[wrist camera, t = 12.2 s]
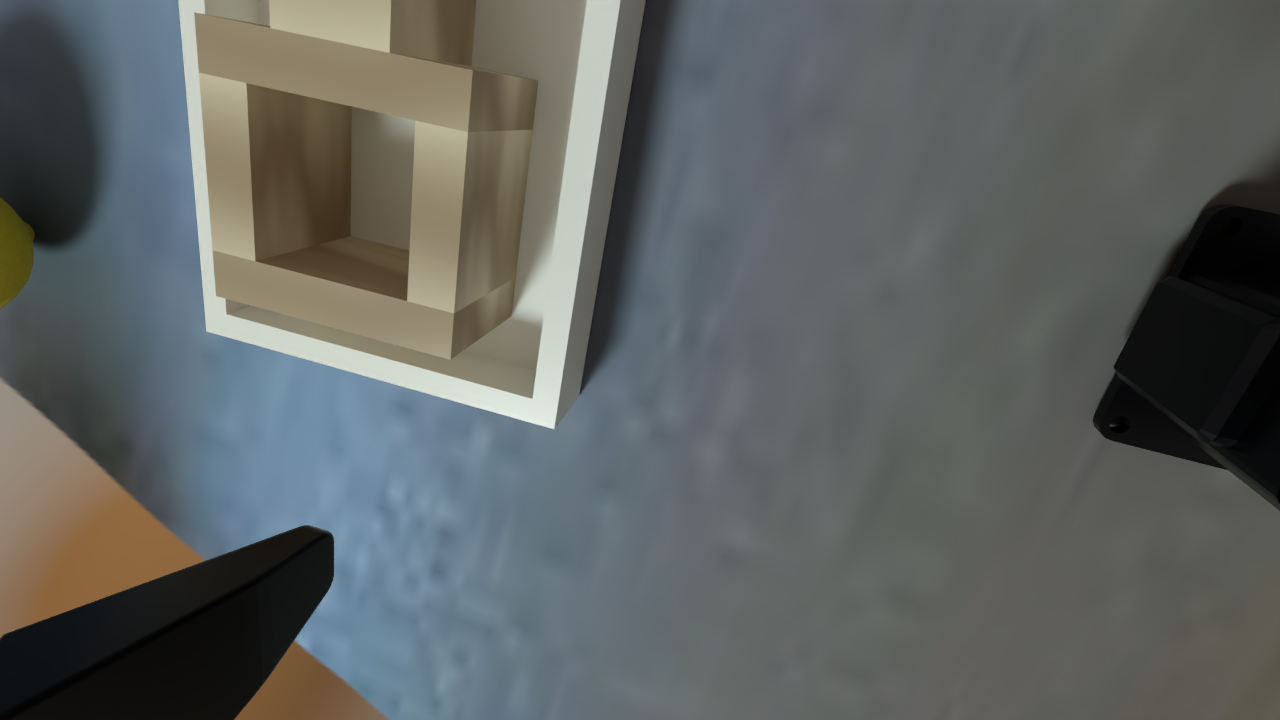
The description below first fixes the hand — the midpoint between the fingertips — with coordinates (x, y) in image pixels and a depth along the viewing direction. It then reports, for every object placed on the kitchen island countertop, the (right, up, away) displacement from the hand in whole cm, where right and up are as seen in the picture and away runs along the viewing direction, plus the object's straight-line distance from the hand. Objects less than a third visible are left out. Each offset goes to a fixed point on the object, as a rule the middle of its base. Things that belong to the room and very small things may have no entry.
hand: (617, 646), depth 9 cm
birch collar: (-6, +12, +9) cm, 16 cm away
